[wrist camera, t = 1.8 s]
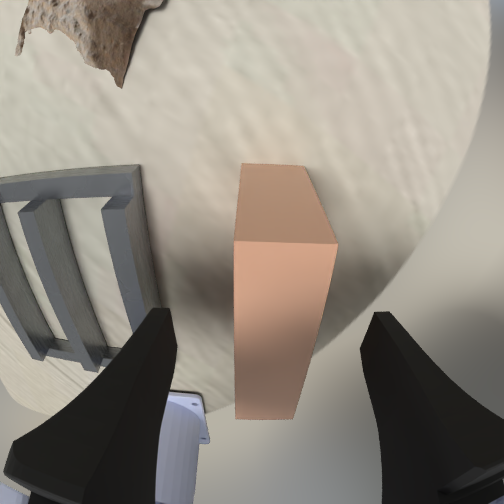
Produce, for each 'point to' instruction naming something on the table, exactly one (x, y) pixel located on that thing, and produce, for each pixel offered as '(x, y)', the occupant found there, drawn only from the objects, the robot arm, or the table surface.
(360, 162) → the table surface
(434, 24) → the table surface
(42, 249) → the drying rack
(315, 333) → the terracotta strip
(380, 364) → the robot arm
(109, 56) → the stone fragment
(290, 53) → the table surface
